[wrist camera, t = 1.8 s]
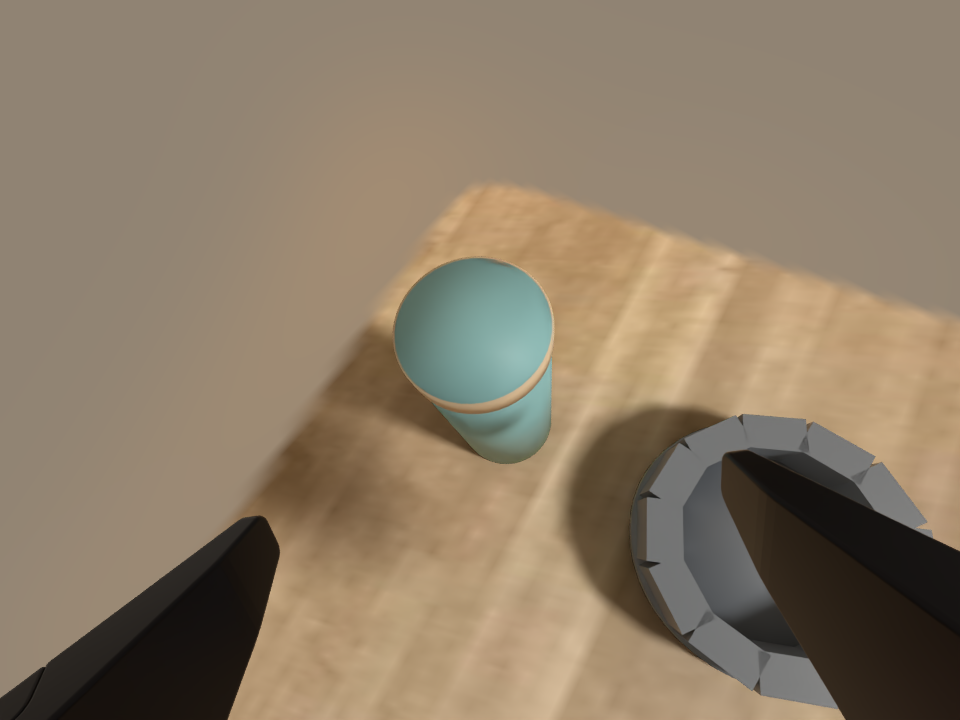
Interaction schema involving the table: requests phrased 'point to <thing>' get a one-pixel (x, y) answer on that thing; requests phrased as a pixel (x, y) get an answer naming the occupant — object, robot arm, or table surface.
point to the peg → (481, 353)
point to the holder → (741, 546)
